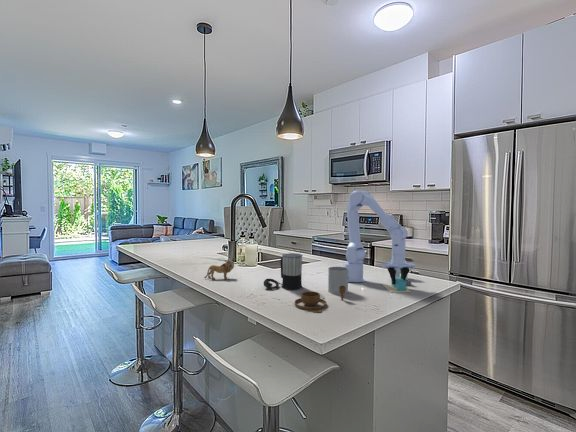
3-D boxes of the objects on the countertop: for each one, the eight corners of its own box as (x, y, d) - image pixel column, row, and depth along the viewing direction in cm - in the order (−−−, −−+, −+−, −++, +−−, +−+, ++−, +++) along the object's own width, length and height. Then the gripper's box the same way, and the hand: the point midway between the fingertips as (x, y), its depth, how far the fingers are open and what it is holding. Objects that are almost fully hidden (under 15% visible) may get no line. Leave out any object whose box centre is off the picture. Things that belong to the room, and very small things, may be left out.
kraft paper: (390, 292, 138) (390, 291, 138) (382, 285, 150) (382, 284, 150) (411, 292, 138) (411, 291, 138) (401, 285, 150) (401, 284, 150)
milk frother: (306, 287, 146) (306, 254, 145) (281, 294, 135) (281, 259, 134) (284, 281, 156) (284, 251, 155) (259, 288, 144) (259, 255, 144)
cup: (349, 290, 142) (349, 267, 141) (346, 295, 134) (346, 271, 133) (330, 288, 144) (330, 266, 144) (326, 293, 137) (326, 269, 136)
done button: (401, 281, 151) (401, 274, 151) (398, 279, 154) (398, 273, 154) (407, 281, 151) (408, 274, 151) (405, 279, 154) (405, 273, 154)
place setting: (295, 299, 130) (295, 284, 130) (345, 299, 129) (345, 285, 129) (293, 314, 112) (293, 297, 112) (351, 315, 112) (352, 298, 111)
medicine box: (405, 277, 166) (405, 260, 166) (407, 279, 162) (407, 262, 162) (389, 277, 167) (389, 260, 167) (391, 279, 163) (391, 261, 162)
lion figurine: (233, 276, 167) (233, 259, 166) (234, 278, 162) (234, 260, 161) (204, 277, 163) (204, 260, 163) (204, 280, 158) (204, 262, 158)
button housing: (399, 285, 150) (399, 281, 150) (395, 282, 155) (395, 278, 155) (410, 285, 150) (410, 281, 150) (406, 282, 155) (406, 278, 155)
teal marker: (398, 290, 140) (398, 281, 140) (390, 284, 151) (390, 275, 151) (406, 290, 140) (406, 281, 140) (397, 284, 151) (397, 275, 151)
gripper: (385, 255, 141) (384, 286, 141) (418, 255, 141) (417, 286, 141) (380, 253, 148) (379, 282, 148) (411, 253, 148) (411, 282, 148)
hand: (397, 284), depth 145 cm, fingers closed on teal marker, 3 cm apart
